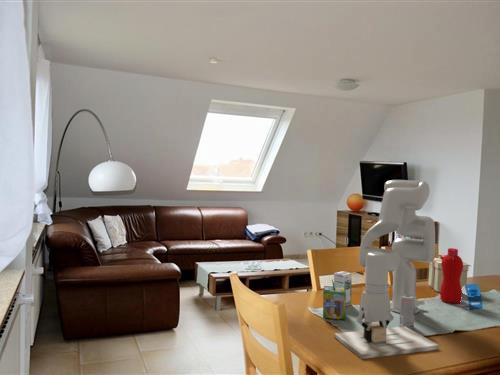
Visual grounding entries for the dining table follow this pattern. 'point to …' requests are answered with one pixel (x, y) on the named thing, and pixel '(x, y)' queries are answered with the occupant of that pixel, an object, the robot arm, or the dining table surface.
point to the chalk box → (334, 302)
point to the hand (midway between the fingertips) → (374, 339)
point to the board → (396, 343)
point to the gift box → (437, 274)
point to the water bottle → (451, 277)
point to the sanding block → (377, 334)
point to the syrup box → (344, 283)
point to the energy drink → (407, 311)
